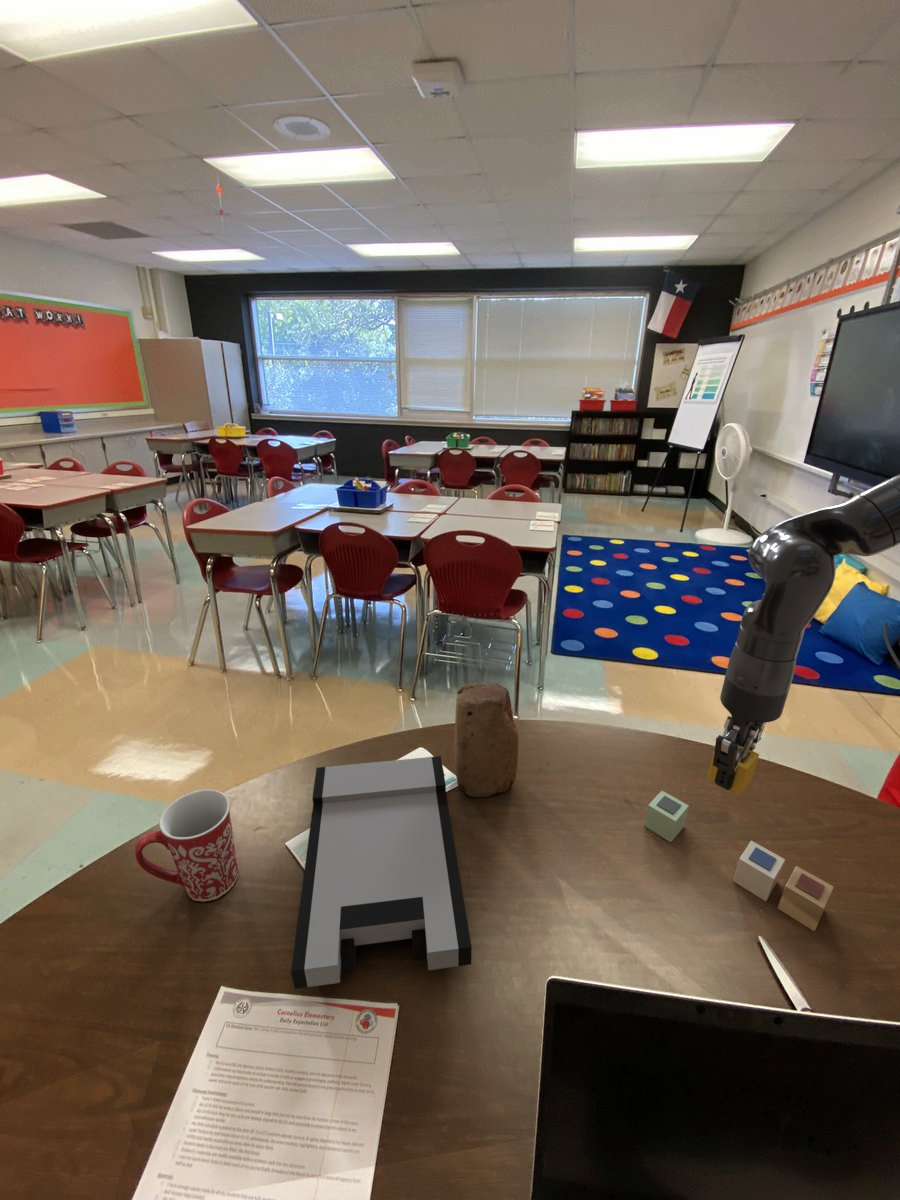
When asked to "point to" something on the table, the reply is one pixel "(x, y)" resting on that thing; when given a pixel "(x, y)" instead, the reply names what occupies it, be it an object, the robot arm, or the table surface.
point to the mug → (195, 844)
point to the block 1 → (485, 740)
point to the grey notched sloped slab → (379, 870)
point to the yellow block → (739, 771)
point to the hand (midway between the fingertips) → (730, 776)
